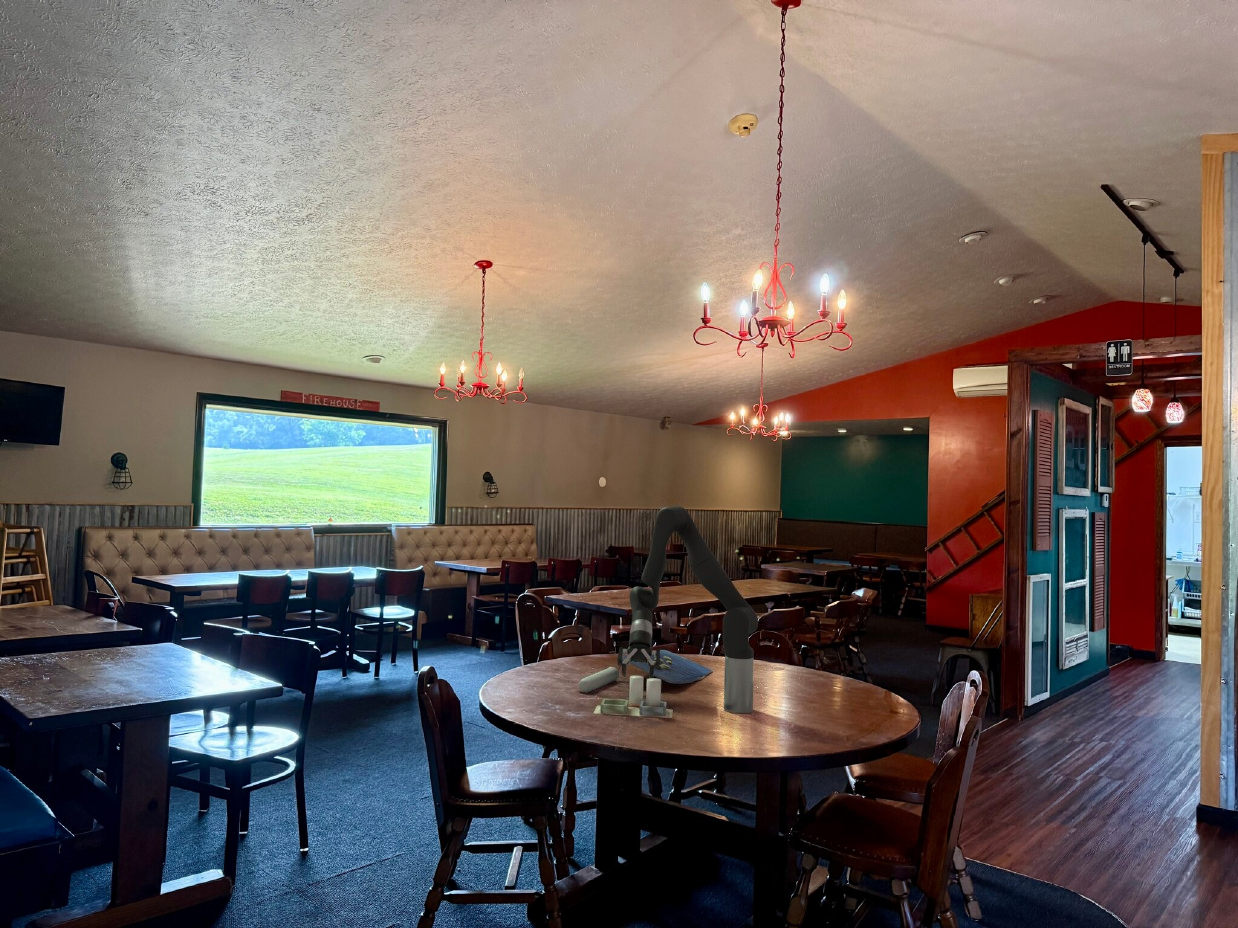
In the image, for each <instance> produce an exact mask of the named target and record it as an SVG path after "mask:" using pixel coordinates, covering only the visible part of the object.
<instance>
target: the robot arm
mask: <svg viewBox="0 0 1238 928" xmlns="http://www.w3.org/2000/svg"><path fill="white" fill-rule="evenodd" d="M675 533H676V534H677V535H678V537H679V538H680V539H681V541H682V542H683V544H684V546H685V548H686V551H687V557H688V558H687V559H688V563H689V566H690V567H689V568H690V570H691V571H692V573H693V575H694V576H695V578H696V579H697V580H698V582H699V584H700V585H702V587H703V588H704V589H705V590H706V591H708V592H709V593H710V594H711V595H712V596H713V597H715V598H716V599H717V600H718V601H719V602H720V603H721V605H723V607H724V608H725V610H726V612H725V614H724V616H723V619H722V646H723V650H724V680H723V681H724V682H723V683H724V684H723V710H724V711H726V712H728V713H732V714H733V713H734V714H750V713H751V714H752V713H753V712H754V683H755V682H754V654H755V653H754V652H755V651H754V648H753V647H751V646H750V641H749V639H750V637H749V635H750V634H753V633H754V632H756V630H757V628H759V627H758V626H759V618H758V615H757V613H756V611H755V610H754V608H752V607H751V605H750V603H748V602H747V600H746V599H745V598H744V596H742V594H741V593H740V591H739V590H738V589H737V587H736V586H735V584H734V583H733V582H732V580H731V578H730V577H729V575H728V574H727V572H726V570H725V569H724V568H723V566H722V565H721V563H720V561H719V560H718V558H717V557H716V556H715V554H714V553H713V552H712V551H711V549H710V546H709V545H708V543H707V542H706V541H705V539H704V537H702V535H701V533H700V532H699V529H698V528H697V526H696V524H695V522H694V521H693V518H692V516H691V515H690V513H689V511H688V510H687V509H685V508H684V507H682V506H681V505H680V506H679V505H678V506H677V505H675V506H666V507H663V508H662V507H661V508H660V510H658V513H657V515H656V518H655V522H654V528H653V532H652V539H651V544H650V549H649V553H648V556H647V560H646V563H645V566H644V568H643V572H642V574H641V578H640V579H641V582H642V583H644V585H646V586H648V587H650V588H651V589H650V588H646V587H643V586H635V587H633V588H632V589H630V592H629V595H628V596H629V598H628V599H629V603H630V604H629V606H630V608H631V614H632V619H631V627H630V631H629V643H628V648H623V646H620V647H619V649H618V654H617V660H616V661H617V663H616V664H617V666H619V667H620V666H621V675H622V676H623V678H626V677H627V667H628V665H631V663H632V662H633V661H634V662H641V663H643V662H646V664H647V665H649V667H650V671H649V673H648V677H649V678H648V679H650V678H653V677H655V676H654V669H655V668H660V650H661V649H659V648H656V650H652V640H653V612H652V610H654V609H656V608H657V607H658V605H659V601H660V599H659V598H660V586H661V581H662V578H663V577H664V573H665V570H666V568H667V546H668V542H669V539H670V538H671V535H672V534H675ZM652 654H653V655H654V657H655V658H656V662H655V663H654V662H653V661H652V660H651V658H650V656H651V655H652ZM623 656H627V657H626V659H625V660H624V661H622V657H623Z"/></svg>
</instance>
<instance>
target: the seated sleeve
mask: <svg viewBox="0 0 1238 928" xmlns="http://www.w3.org/2000/svg"><path fill="white" fill-rule="evenodd" d="M661 690H662V679H660V678H657V677H656V678H653V677H651V678H646V692H645V693H646V697H645V698H646V699H645V701H646V706H647V707H661V706H660V702H661V696H662V694H661V693H662V691H661Z"/></svg>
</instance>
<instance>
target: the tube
mask: <svg viewBox="0 0 1238 928" xmlns="http://www.w3.org/2000/svg"><path fill="white" fill-rule="evenodd" d="M619 677H620V670H618V668H616V667H614V666H609V667H608V668H606V669H603V670H601V671H599V672H596V673H593V674H591V675H588V676H586V677H583V678H581V679H580V681H579V682H578V690H579V691H580V692H581V693H587V694H588V693H590V692H593V691H594V690H597V689H599V688H602V687H603V685H604V686H606V685H608V683H609V684H611V683H612V682H616V681H617V680H618V679H619ZM610 682H611V683H610ZM596 688H597V689H596ZM592 690H593V691H592Z"/></svg>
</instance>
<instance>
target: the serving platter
mask: <svg viewBox="0 0 1238 928" xmlns="http://www.w3.org/2000/svg"><path fill="white" fill-rule="evenodd" d="M659 650H660V668H655V669H654V676H653V677H656V678H657V679H660V680H661V681H662V680H663V681H664V682H667V683H670V684H675V685H677V684H689V683H690V684H691V683H694V682H695V681H702V680H704V679H705V678H706V677H707V676H708V675H710V674H711V673H713V670H712V669H710V668H709V667H706V666H704V665H702V664H700V663H697V662H695V661H693V660H690V659H688V658H687V657H683V656H682V655H678V654H676V653H674V652H672V651H669V650H666V649H659ZM627 656H628V655H624V656H622V661H624V660H625V659H626V657H627ZM650 658H651V660H652V661H653V662H654V663H655V662H656V658H655V657H654V655H653V654H652V655H651V656H650ZM630 665H632V667H633V666H634V667H635V668H637V669H640V670H641V671H643V672H645V673H647V674H649V671H650V667H649V665H647V664H646V662H643V663H641V662H634V661H633V662H632V663H631V664H630ZM621 668H622V666H619V667H618V668H617V670H618V671H620V669H621Z"/></svg>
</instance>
